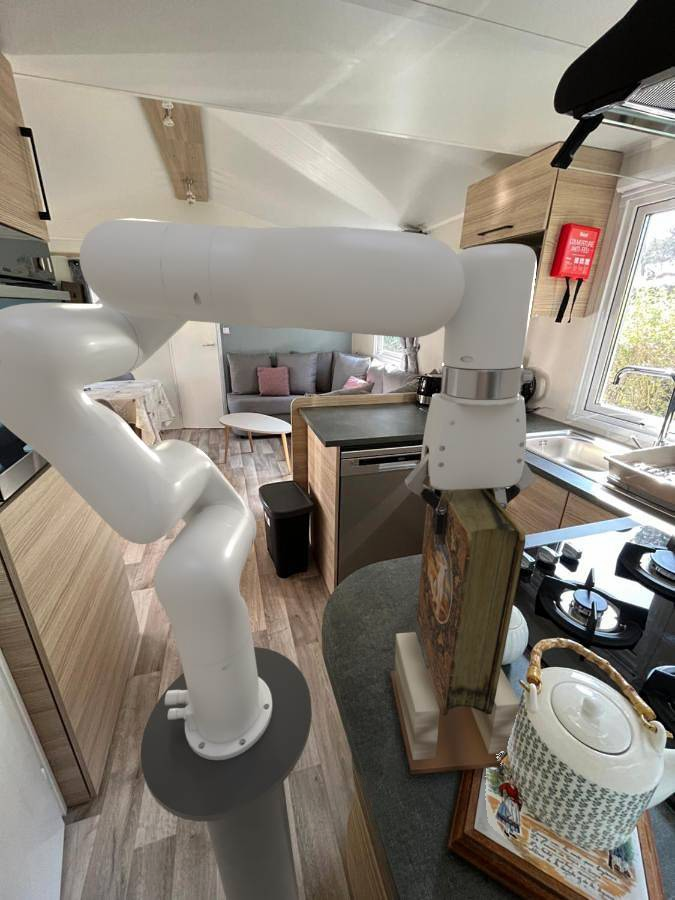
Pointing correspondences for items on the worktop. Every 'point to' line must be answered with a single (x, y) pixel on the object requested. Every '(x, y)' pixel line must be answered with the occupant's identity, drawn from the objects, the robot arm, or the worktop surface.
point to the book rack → (446, 718)
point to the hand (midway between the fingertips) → (464, 535)
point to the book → (468, 598)
